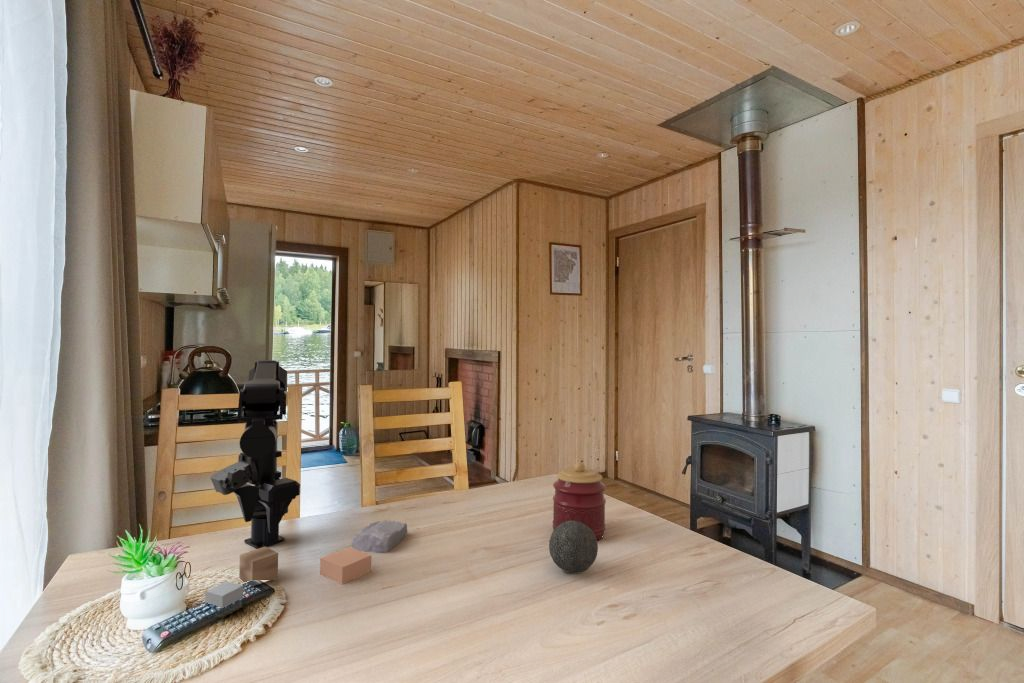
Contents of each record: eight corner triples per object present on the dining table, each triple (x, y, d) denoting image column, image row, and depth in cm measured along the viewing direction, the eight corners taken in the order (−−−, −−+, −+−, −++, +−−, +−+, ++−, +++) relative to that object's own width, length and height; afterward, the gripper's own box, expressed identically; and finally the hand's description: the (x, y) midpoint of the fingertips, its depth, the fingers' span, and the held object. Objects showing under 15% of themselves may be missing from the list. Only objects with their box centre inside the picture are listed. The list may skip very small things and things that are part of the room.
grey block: (204, 615, 84) (205, 591, 84) (226, 603, 88) (226, 581, 88) (222, 620, 83) (222, 596, 83) (242, 608, 87) (243, 585, 87)
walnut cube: (239, 580, 97) (239, 554, 97) (264, 571, 101) (265, 546, 101) (252, 588, 94) (252, 561, 94) (277, 578, 98) (278, 552, 98)
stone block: (348, 559, 111) (389, 554, 109) (345, 537, 112) (386, 532, 110) (373, 540, 123) (411, 536, 121) (370, 521, 123) (408, 516, 122)
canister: (613, 530, 125) (614, 460, 125) (592, 547, 114) (593, 471, 115) (566, 520, 132) (567, 453, 132) (543, 535, 121) (543, 463, 122)
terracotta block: (319, 575, 100) (320, 558, 100) (349, 563, 105) (349, 546, 105) (341, 585, 96) (342, 567, 96) (371, 572, 101) (371, 555, 101)
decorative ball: (538, 570, 102) (539, 522, 103) (567, 556, 110) (568, 510, 110) (578, 587, 96) (579, 535, 96) (607, 570, 103) (607, 522, 103)
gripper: (195, 447, 97) (193, 527, 96) (242, 461, 86) (240, 552, 85) (253, 438, 106) (251, 512, 105) (302, 451, 95) (301, 533, 95)
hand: (259, 526), depth 98 cm, fingers open, 9 cm apart
